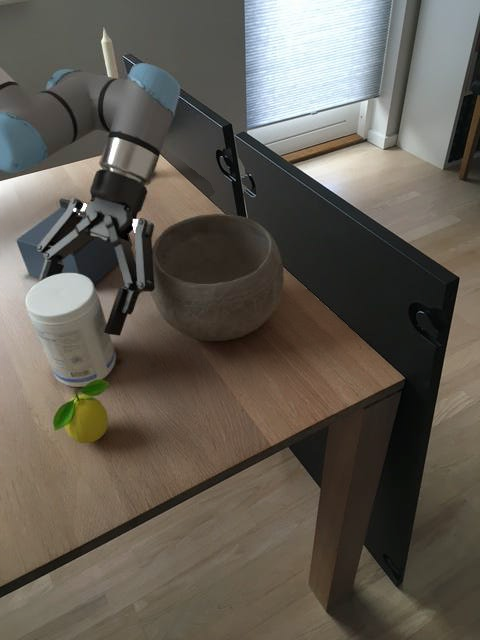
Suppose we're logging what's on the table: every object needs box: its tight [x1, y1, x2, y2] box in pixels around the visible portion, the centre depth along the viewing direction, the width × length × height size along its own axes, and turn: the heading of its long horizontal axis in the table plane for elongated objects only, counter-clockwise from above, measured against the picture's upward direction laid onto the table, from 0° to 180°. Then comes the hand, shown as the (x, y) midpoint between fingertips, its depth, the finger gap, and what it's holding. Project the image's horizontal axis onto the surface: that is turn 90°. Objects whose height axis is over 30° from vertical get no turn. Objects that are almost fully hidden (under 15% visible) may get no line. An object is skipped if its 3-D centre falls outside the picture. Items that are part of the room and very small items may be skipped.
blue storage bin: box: [15, 197, 119, 285], centre depth 100 cm, size 13×13×10 cm
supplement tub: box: [25, 273, 117, 388], centre depth 78 cm, size 10×10×15 cm
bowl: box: [150, 213, 285, 342], centre depth 85 cm, size 21×21×15 cm
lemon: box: [52, 379, 110, 444], centre depth 70 cm, size 7×6×10 cm
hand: (75, 319), depth 77 cm, fingers open, 13 cm apart
